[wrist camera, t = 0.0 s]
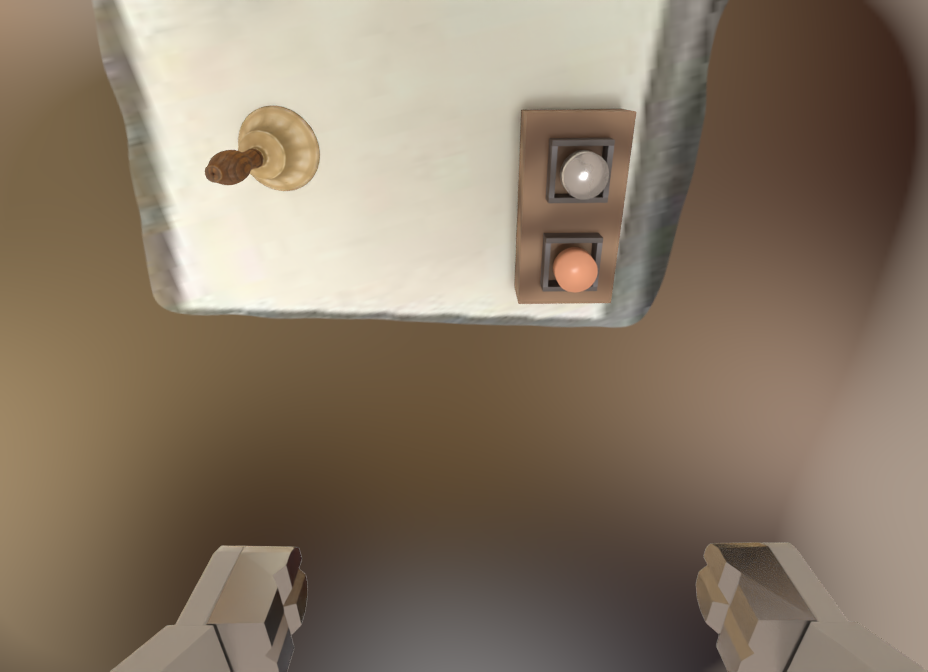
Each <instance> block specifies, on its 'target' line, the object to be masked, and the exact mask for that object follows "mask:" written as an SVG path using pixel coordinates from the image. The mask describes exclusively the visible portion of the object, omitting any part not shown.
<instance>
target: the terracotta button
mask: <svg viewBox="0 0 928 672" xmlns="http://www.w3.org/2000/svg"><path fill="white" fill-rule="evenodd" d="M553 273H554V275H555V278H556V280H557V282H558V284H559V285H560V286H561V288H563V289H564V290H566V291H568V292H574V293H576V292H581V291H584V290H586V289H588V288H589V287H590V286H591V285H592V284H593V283H594V282H595V280H596V278H597V274H598V268H597V265H596V262H595V261H594V259H593V258H592V257H591V255H590V254H589V253H588V252H587V251H586V250H584V249H582V248H579V247H571V248H567V249H565V250H563V251H562V252H560V253H559V254H558V255H557V257H556V258H555V260H554V263H553Z"/></svg>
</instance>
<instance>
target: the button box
mask: <svg viewBox="0 0 928 672" xmlns="http://www.w3.org/2000/svg"><path fill="white" fill-rule="evenodd" d="M635 118H636V111H630V110H624V109H574V110H521V132H520V159H519V185H518V211H517V237H516V263H515V291H516V295H517V299H518V303H519V304H550V303H611V297H612V289H613V282H614V274H615V267H616V259H617V252H618V245H619V237H620V230H621V222H622V215H623V207H624V200H625V192H626V185H627V177H628V170H629V163H630V155H631V148H632V140H633V133H634V125H635ZM579 150H589V151H592V152H594V153H596V154H597V155H599V156H601V157H602V158H603V159H604V160H605V161H606V163H607V165H608V168H609V179H608V182H607V185H606V187H605V188H604V189H603V191H602V192H601V193H600V194H598V195H597V196H595V197H593V198H591V199H586V200H582V199H577V198H575V197H573V196H571V195H570V194H569V193H568V192H567V191H566V190H565V188H564V187H563V186H562V184H561V181H560V169H561V166H562V164H563V162H564V160H565V159H566V158H567V157H568V156H569V155H570V154H572V153H574V152H576V151H579ZM571 247H579V248H582V249H584V250H586V251H587V252H588V253H589V254H590V255H591V257H592V258H593V259H594V261H595V262H596V265H597V268H598V274H597V278H596V280H595V282H594V283H593V284H592V285H591V286H590V287H589V288H588V289H586V290H584V291H581V292H576V293H574V292H568V291H566V290H564V289H563V288H561V286H560V285H559V284H558V282H557V280H556V278H555V275H554V273H553V263H554V260H555V258H556V257H557V255H558V254H559V253H560V252H562V251H563V250H565V249H567V248H571Z"/></svg>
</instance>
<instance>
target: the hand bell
mask: <svg viewBox="0 0 928 672" xmlns="http://www.w3.org/2000/svg"><path fill="white" fill-rule="evenodd" d="M238 146H239V147H238V151H236V150H226V151H222V152H219V153H217V154H216V155H214V156H213V157H212V158H211V160H210V161H209V164H208V166H207V167H206V168H205V175H206V178H207V179H208V180H210V181H211V182H216V183H219V184H223V185H234V184H237V183H239V182H241V181H243V180H244V179H245V178H246V177H247V176H248V175H249V174H251V175H252V176H253V177H254V178H255V179H256V180H258V181H259V182H260V183H262V184H263V185H265V186H267V187H269V188H272V189H275V190H280V191H290V190H295V189H298V188H301V187H303V186H304V185H305V184H307V183H308V182H309V181H310V180H311V179H312V177H313V176H314V174H315V172H316V171H317V168H318V164H319V146H318V142H317V139H316V137H315V134H314V132H313V131H312V129H311V127H310V126H309V125H308V124H307V122H306V121H305V120H304V119H303V118H301V117H300V116H299V115H298V114H296V113H295V112H293V111H291V110H289V109H286V108H283V107H279V106H266V107H262V108H259V109H257V110H255V111H253V112H252V113H251V114H249V115H248V116H247V118H246V119H245V120H244V122H243V123H242V126H241V128H240V131H239V137H238Z"/></svg>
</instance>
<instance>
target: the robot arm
mask: <svg viewBox="0 0 928 672" xmlns="http://www.w3.org/2000/svg"><path fill="white" fill-rule="evenodd" d="M703 557H704V558H705V561H706V563H707V566H705V567H704V568H703V569H702V570H700V571H699V573H698V577H697V581H696V591H697V599H698V603H699V607H700V610H701V613H702V615H703V617H704V620H705V622H706V623H707V624H708V625H709V626H710V627H711V628H713V629H714V630H715V631H716V632H717V633H718V634H719V637H718V641H717V645H716V646H717V649H718V651H719V653H720V655H721V658H722V660H723V662H724V664H725V666H726V668H727V671H728V672H928V670H926V669H925V668H924V667H922V666H921V665H919V664H918V663H916V662H915V661H913V660H912V659H910V658H909V657H907V656H906V655H905V654H903V653H902V652H900V651H899V650H897V649H896V648H895V647H893V646H892V645H890V644H889V643H887V642H886V641H884V640H883V639H882V638H880V637H879V636H877V635H876V634H874V633H873V632H871V631H870V630H869V629H867V628H866V627H864V626H863V625H861V624H860V623H858V622H849V621H848V619H847V618H846V617H845V615H844V614H843V613H842V611H841V610H840V608H839V607H838V606H837V604H836V603H835V601H834V600H833V599H832V597H831V596H830V595H829V593H828V592H827V590H826V589H825V588H824V586H823V585H822V583H821V582H820V581H819V579H818V578H817V577H816V575H815V574H814V572H813V571H812V570H811V569H810V567H809V565H808V564H807V563H806V561H805V560H804V559H803V557H802V556H801V554H800V553H799V552H798V550H797V549H796V548H795V547H794V546H792V545H791V544H790V543H759V542H752V543H711V544H709V545H708V546H707V547H706V550H705V553H704V556H703ZM301 561H302V557H301V553H300V549H299V547H273V546H271V547H270V546H269V547H268V546H221V547H220V548H219V549H218V550H217V551H216V552H215V553H214V554H213V556H212V557H211V559H210V561H209V563H208V565H207V567H206V569H205V571H204V572H203V574H202V576H201V578H200V580H199V582H198V583H197V585H196V587H195V589H194V591H193V593H192V595H191V597H190V598H189V600H188V602H187V604H186V606H185V608H184V610H183V611H182V613H181V615H180V617H179V619H178V621H177V623H176V624H175V625H167V626H166V627H164V628H163V629H162V630H161V631H160V632H159V633H157V634H156V635H155V636H153V637H152V638H151V639H150V640H149V641H147V642H146V643H145V644H144V645H142V646H141V647H140V648H139V649H137V650H136V651H135V652H134V653H133V654H131V655H130V656H129V657H128V658H126V659H125V660H124V661H123V662H121V663H120V664H119V665H118V666H116V667H115V668H114V669H113V670H112V671H110V672H287V670H288V667H289V664H290V661H291V657H292V654H293V651H294V645H293V641H292V637H291V635H292V634H293V633H294V632H295V631H296V630H297V629H298V628H299V627H300V626H301V624H302V621H303V617H304V614H305V610H306V603H307V596H308V584H307V578H306V574H305V573H304V572H302V571H301V570H300V569H299V567H300V564H301Z"/></svg>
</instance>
